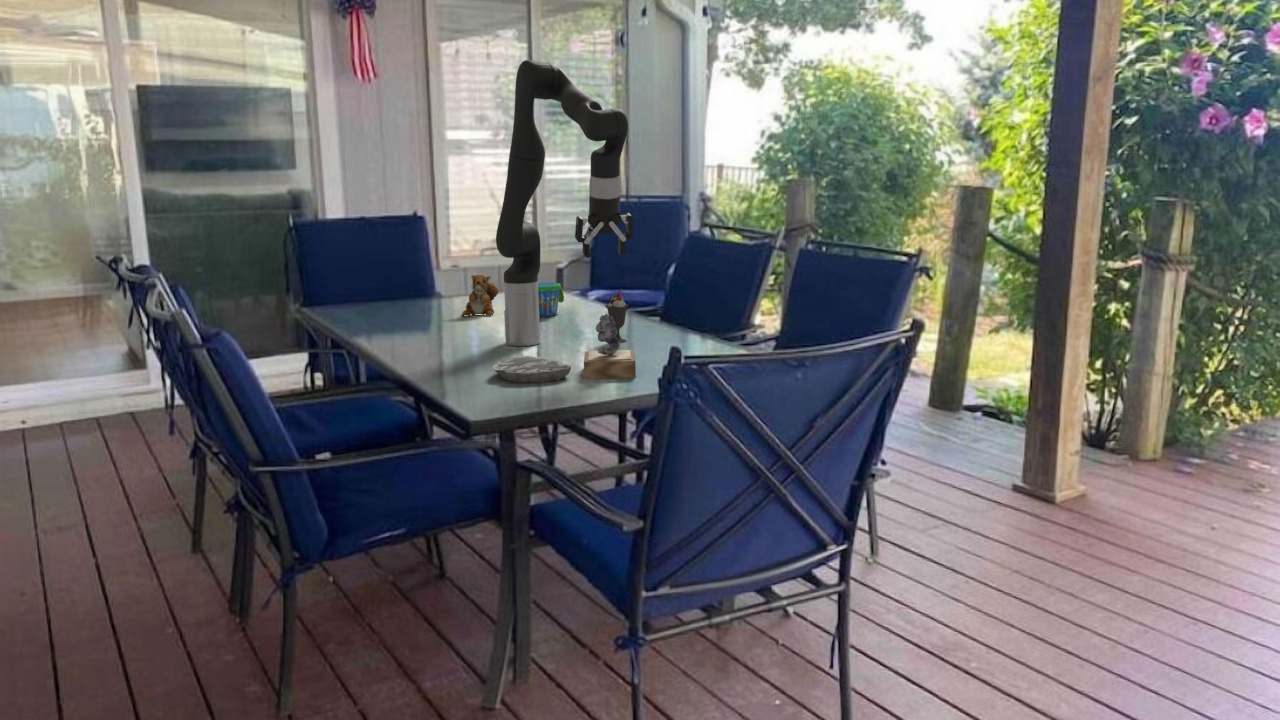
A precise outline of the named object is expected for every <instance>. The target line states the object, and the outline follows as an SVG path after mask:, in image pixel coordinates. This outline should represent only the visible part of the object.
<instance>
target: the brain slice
mask: <svg viewBox="0 0 1280 720" xmlns="http://www.w3.org/2000/svg"><path fill="white" fill-rule="evenodd" d="M491 368H492V369H493V371H495V373H497V374H499V375H500V376H501V377H502V378H503V379H504V378H505V379H504V380H507V379H510V380H509V381H510V382H513V381H514V382H513V383H521V382H527V383H533V384H534V383H535V384H536V383H547V382H551V381H561V380H562V379H564V378H566V377H567V376H568V375H569V373H570V372H571V370H572V366H571V365H569V364H564V363H563V362H562V361H561V360H560V359H555V358H552V357H539V356H533V355H525V356H524V355H523V356H515V357H509V358H504V359H500V360H499V361H497V362H495V363H494V364H493V366H491Z"/></svg>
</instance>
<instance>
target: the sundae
mask: <svg viewBox="0 0 1280 720" xmlns="http://www.w3.org/2000/svg"><path fill="white" fill-rule="evenodd" d="M622 290H623V288H620V290H619V291H618V293H616V295H613V296H610V297H609V303H608V304H604V307H605V309H607V315H608V316H612V317H613V320H614V321H615V326H614V327H616V329H617V331H618V332H617V335H616V337H617V339H618V341H619V343H620V342H623V343H625V341H626V342H627V339H624V338H622V337H621V334H620V329H622V328H623V326H624V325H625V322H626V314H627V309H628V307H630V304H627V303H625V301H624V298H623V297H622V294H621V293H620V292H621V291H622ZM620 344H621V343H620Z"/></svg>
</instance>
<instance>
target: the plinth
mask: <svg viewBox="0 0 1280 720" xmlns="http://www.w3.org/2000/svg"><path fill="white" fill-rule="evenodd" d="M635 354H636V353H635V350H630V349H627V350H626V349H618V350H617V351H616V353H614V354H613V355H603V354H600V353H598V350H588V351H587V350H586V351H584V356H583V357H584V358H583V377H584V380H585V379H588V380H589V379H591V380H592V379H593V380H594V379H628V378H629V379H630V378H634V379H636V377H637V375H636V372H637V371H636V355H635Z"/></svg>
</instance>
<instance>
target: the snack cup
mask: <svg viewBox="0 0 1280 720" xmlns="http://www.w3.org/2000/svg"><path fill="white" fill-rule="evenodd" d="M561 285H562V284H561V283H559V282H550V281H549V282H538V298H539V318H540V317H541V318H545V317H553V316H557V313H558V308H559V307H558V306H559V303H564V301H565V296H564V291H563V287H562V286H561Z"/></svg>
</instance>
